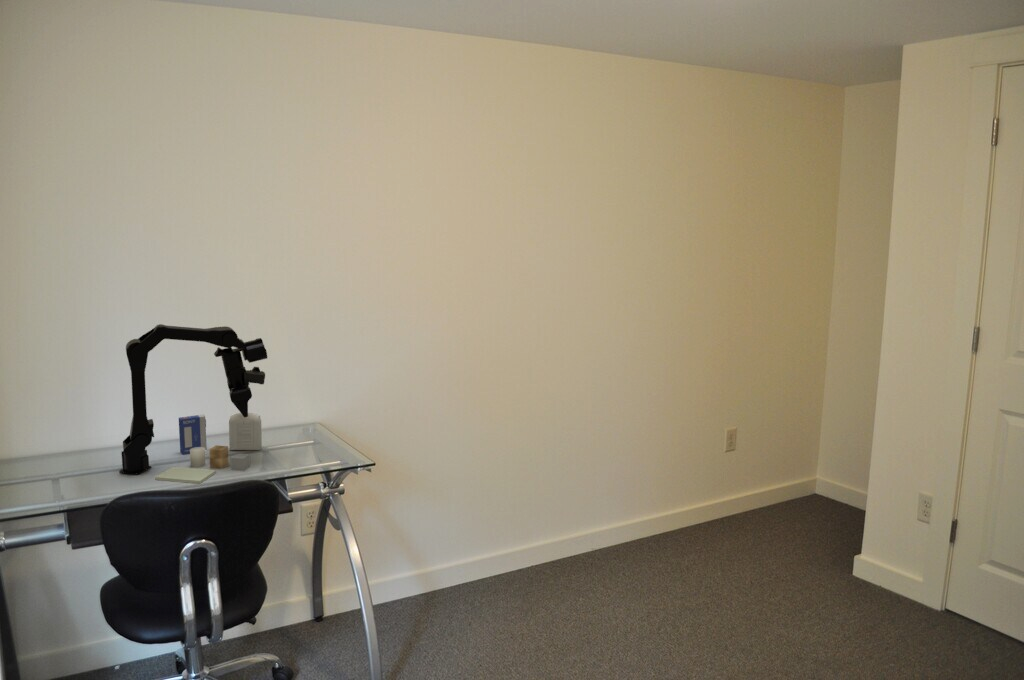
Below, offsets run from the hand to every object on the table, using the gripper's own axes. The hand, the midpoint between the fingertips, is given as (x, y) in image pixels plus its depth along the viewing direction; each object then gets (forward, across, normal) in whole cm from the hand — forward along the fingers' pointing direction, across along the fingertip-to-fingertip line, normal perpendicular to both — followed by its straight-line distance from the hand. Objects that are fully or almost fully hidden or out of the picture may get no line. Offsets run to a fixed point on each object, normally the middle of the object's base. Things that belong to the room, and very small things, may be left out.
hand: (245, 412), depth 239 cm
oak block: (+13, -7, +11) cm, 18 cm away
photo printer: (+15, +8, +2) cm, 17 cm away
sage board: (+11, -13, +20) cm, 26 cm away
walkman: (+12, +10, +18) cm, 24 cm away
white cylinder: (+12, -3, +17) cm, 21 cm away
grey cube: (+14, -10, +5) cm, 18 cm away
